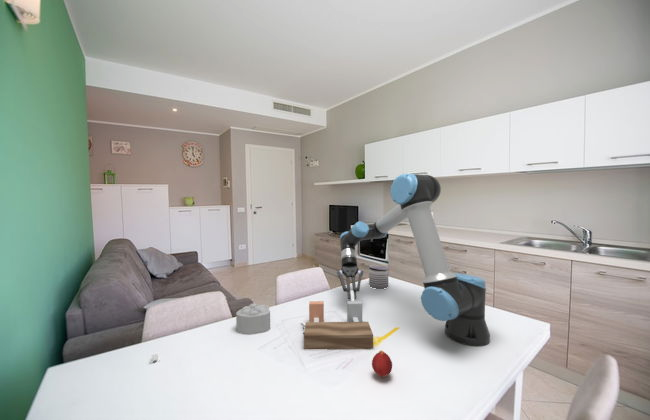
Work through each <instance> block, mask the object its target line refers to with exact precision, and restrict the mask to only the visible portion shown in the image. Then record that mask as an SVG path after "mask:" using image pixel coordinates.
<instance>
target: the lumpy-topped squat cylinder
mask: <svg viewBox="0 0 650 420" xmlns="http://www.w3.org/2000/svg"><path fill="white" fill-rule="evenodd" d="M235 316H236V317H235V319H236V320H235V321H236V323H235V325H236V327H235V328H236V332H237V333H238V334H241V335H246V336H247V335H248V336H251V335H257V334H263V333H267V332H269V331H270V330H271V311H270V306H269V305H267V304H258V303H255V302H254V303H251V304H249V305H246V306H243V307H242V308H241V309H238V311H236V313H235Z"/></svg>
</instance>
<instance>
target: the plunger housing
mask: <svg viewBox="0 0 650 420" xmlns="http://www.w3.org/2000/svg"><path fill="white" fill-rule="evenodd" d="M304 349H327V350H374V333H373V331H372V329H371V325H370V323H369V321H362V322H348V321H324V322H309V321H306V322H305V324H304V333H303V350H304Z"/></svg>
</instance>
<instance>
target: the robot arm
mask: <svg viewBox="0 0 650 420" xmlns="http://www.w3.org/2000/svg"><path fill="white" fill-rule="evenodd" d="M441 190H442V187H441V184H440V182H439V180H437V178H436V177H434V176H432V175H429V174H415V173H402V174H400V175H398V176H397V177H395V178H394V179H393V182H392V183H391V186H390V196H391V199H392V201H393V202H394V203H396V205H395V206H394V207H393V208H391V210H389V211H388V212H387V213H385V214H384V215H383V216H382V217H380V218H379V219H378V220H377V221H375V222H374V223H372V224H367V223H365V222H364V221H361V220H359V221H357V222H356V223H354V225H352V227H351V228H350V229H349V231H344V232H342V233H341V234H340V236H339V240H340V241H339V242H340V255H341V256H340V257H341V258H340V259H341V269H340V270H337V271H336V276H337V277H338V278H339V281H340V285H341V289H342V290H343V292H346V293H347V300H349V301H355V300H357V292H360V288H361V281H362V277H363V276H364V270H360V269H359V267H358V261H357V253H356V252H357V251H356V246H357V245H358V244H359V243H360V242H361V241H365V240H374V239H376V240H377V239H383V238H385V237H386V236H387V235H388V233H389V231H391V230H392V229H394V228H395V227H397V226H398V225H399V224H401V223H402V222H404V221H405V220H406V219H408V222H409V224H410V228H411V229H410V230H411V231H412V232H411V233H412V236H413V239H414V242H415V246H416V249H417V252H418V256H419V258H420V261H421V265H422V268H423V269H422V270H423V272H424V276H425V277H424V279H423V281H422V284H423V288H424V290H423V291H422V292H421V294H420V299H421V300H420V301H421V304H422V307H423V309H424V310H425V311H426V313H427V314H428V315H430V316H431V318H433V319H434V320H437V321H441V322H445V325H444V333H445V334H446V336H447V337H448V338H449V339H451V340H453V341H455V342H457V343H460V344H463V345H467V346H472V347H473V346H474V347H475V346H476V347H481V346H486V345H488V344H489V343H490V341H491V340H490V339H491V337H490V336H491V335H490V334H491V333H490V332H489V331H490V330H489V327H488V325H487V321H486V319H485V318H486V293H487V287H486V281H485V279H483V278H482V277H480V276H476V275H471V274H466V273H455V272H454V273H453V272H451V270H450V266H449V264H448V263H449V262H448V261H447V257H446V255H445V251H444V248H443V244H442V242H441V239H440V235H439V232H438V229H437V226H436V224H435V220H434V217H433V214H432V211H431V207H432V205H433V203H435V202H436V201H437V200H438V198H439V197H440V195H441ZM343 275H344V276H345V278H346V279H345V280H346V282H345V280H344V278H343V277H344V276H343ZM356 275H358V278H357V286H356ZM350 278H351V279H350ZM350 280H351V283H350ZM351 285H352V290H351Z"/></svg>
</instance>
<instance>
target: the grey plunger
mask: <svg viewBox="0 0 650 420" xmlns="http://www.w3.org/2000/svg"><path fill="white" fill-rule="evenodd" d="M346 303H347V304H346V307H347V308H346V309H347V310H346V320H347V321H346V322H363V302H362V301H361V300H354V301H350V300H347V301H346Z"/></svg>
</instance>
